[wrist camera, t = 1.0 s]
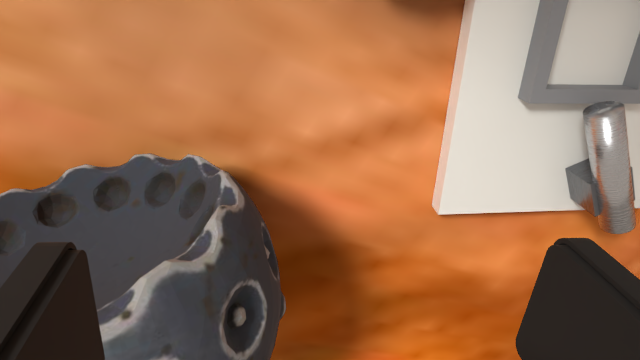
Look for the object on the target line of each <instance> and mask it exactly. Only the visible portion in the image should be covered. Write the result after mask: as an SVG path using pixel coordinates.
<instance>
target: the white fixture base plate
mask: <svg viewBox="0 0 640 360" xmlns="http://www.w3.org/2000/svg"><path fill="white" fill-rule="evenodd" d="M604 101H617V102H620V103H622V104H624V106H625V116H626V126H627V136H628V147H629V157H630V166H631V167H632V170H633V180H634V190H635V200H634V208H640V0H465V4H464V10H463V17H462V23H461V29H460V35H459V41H458V47H457V54H456V60H455V66H454V72H453V78H452V84H451V91H450V97H449V103H448V109H447V115H446V121H445V128H444V134H443V140H442V146H441V152H440V158H439V165H438V171H437V177H436V183H435V189H434V195H433V202H432V207H433V208H434V209H435V211H436V212H437V213H438V215H441V214H471V213H502V212H533V211H564V210H585V209H584V208H583V207H581V206H580V205H579V204H577V203H576V202H575V201H573V200H572V199H570V193H569V188H568V182H567V176H566V171H565V168H567V167H570V166H572V165H574V164H577V163H579V162H581V161H584V160H586V159H588V158H589V153H588V146H587V139H586V132H585V126H584V119H583V110H584V109H585V108H586V107H588V106H590V105H592V104H595V103H598V102H604Z"/></svg>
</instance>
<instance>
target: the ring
mask: <svg viewBox="0 0 640 360" xmlns="http://www.w3.org/2000/svg"><path fill="white" fill-rule="evenodd" d="M38 242H72V243H74V245H75V246H76V249H77V250H84V251H85V252H86V254H87V258H88V264H89V270H90V275H91V281H92V287H93V292H94V298H95V304H96V309H97V315H98V321H99V326H100V332H101V337H102V343H103V349H104V354H105V360H270V358H271V355H272V351H273V348H274V345H275V341H276V336H277V330H278V325H279V321H280V319H281V318H282V316H283V315H284V313H285V310H286V302H285V297H284V295H283V293H282V292H281V287H280V274H279V268H278V262H277V258H276V255H275V251H274V248H273V244H272V241H271V237H270V234H269V231H268V229H267V226H266V224H265V222H264V220H263V218H262V216H261V215H260V213H259V211H258V209H257V207H256V205H255V204H254V203H253V201H252V200H251V198H250V197H249V195H248V194H247V193H246V191H245V190H244V189H243V187H242V186H241V185H240V184H239V183H238V182H237V181H236V179H235V178H234V177H233V176H231V175H230V174H229V173H228V172H226V171H223V170H221V169H220V168H218V167H216V166H215V165H213V164H211V163H210V162H208V161H207V160H205V159H203V158H202V157H199V156H195V155H190V154H188V155H187V156H185V157H184V158H183V159H182V160H179V161H176V160H169V159H165V158H163V157H160V156H157V155H154V154H138V155H134V156H133V157H132V158H131V159H130V160H129V161H128V162H127V163H125V164H123V165H121V166H117V167H97V166H92V165H87V164H85V165H82V166H78V167H74V168H71V169H69V170H67V171H66V172H65V173H64V174H63V175H62V176H61V177H60V178H59V179H58V180H57V181H55V182H54V183H52V184H50V185H48V186H46V187H42V188H38V189H33V190H28V189H11V190H8V191H6V192H4V193H2V194H0V288H1V286H2V285H3V284H4V283H5V281H6V280H7V279H8V277H9V276H10V275H11V274H12V272H13V271H14V270H15V268H16V267H17V266H18V265H19V263H20V262H21V261H22V259H23V258H24V257H25V255H26V254H27V253H28V252H29V250H30V249H31V248H32V246H33V245H35V244H36V243H38Z"/></svg>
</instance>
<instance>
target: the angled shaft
mask: <svg viewBox="0 0 640 360" xmlns="http://www.w3.org/2000/svg"><path fill="white" fill-rule="evenodd" d="M583 119H584V126H585V132H586V139H587V146H588V153H589V158H588V159H586V160H584V161H581V162H579V163H577V164H574V165H572V166H570V167H567V168H565V171H566V176H567V182H568V188H569V193H570V199H572V200H573V201H575V202H576V203H577V204H579V205H580V206H581V207H583V208H584V209H585V210H587V211H588V212H589V213H591V214H592V215H593V216H595V217H596V216H598V222H599V226H600V228H601V229H602V230H604V231H605V232H608V233H613V234H622V233H627V232H629V231H631V230H633V229H634V228H635V226H636V218H635V208H634V200H635V190H634V180H633V170H632V167H631V166H630V157H629V147H628V136H627V126H626V116H625V106H624V104H622V103H620V102H617V101H604V102H598V103H595V104H592V105H590V106H588V107H586V108H585V109H584V110H583Z"/></svg>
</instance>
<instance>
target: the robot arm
mask: <svg viewBox="0 0 640 360" xmlns="http://www.w3.org/2000/svg"><path fill="white" fill-rule="evenodd" d="M516 348H517V351H518V354H519V356H520V357H521V359H522V360H640V280H639V279H638V278H637V277H636V276H634V275H633V274H632V273H631V272H630V271H628V270H627V269H626V268H625V267H624V266H622V265H621V264H620V263H619V262H618V261H616V260H615V259H614V258H613V257H612V256H610V255H609V254H608V253H607V252H606V251H604V250H603V249H602V248H601V247H599V246H598V245H597V244H596V243H595V242H593V241H592V240H590V239H588V238H561V239H558V240H557V241H556V242H555V243H554V245H552V246H550V247H549V248H548V250H547V252H546V255H545V258H544V261H543V264H542V267H541V269H540V272H539V275H538V278H537V281H536V283H535V286H534V289H533V292H532V295H531V298H530V300H529V303H528V306H527V309H526V312H525V314H524V317H523V320H522V323H521V326H520V329H519V331H518V334H517V337H516ZM0 360H105V354H104V349H103V343H102V337H101V332H100V326H99V321H98V315H97V309H96V304H95V298H94V292H93V287H92V281H91V275H90V270H89V264H88V258H87V254H86V252H85V251H84V250H77V249H76V246H75V245H74V243H72V242H38V243H36V244H35V245H33V246H32V248H31V249H30V250H29V252H28V253H27V254H26V255H25V257H24V258H23V259H22V261H21V262H20V263H19V265H18V266H17V267H16V268H15V270H14V271H13V272H12V274H11V275H10V276H9V277H8V279H7V280H6V281H5V283H4V284H3V285H2V286H1V288H0Z"/></svg>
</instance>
